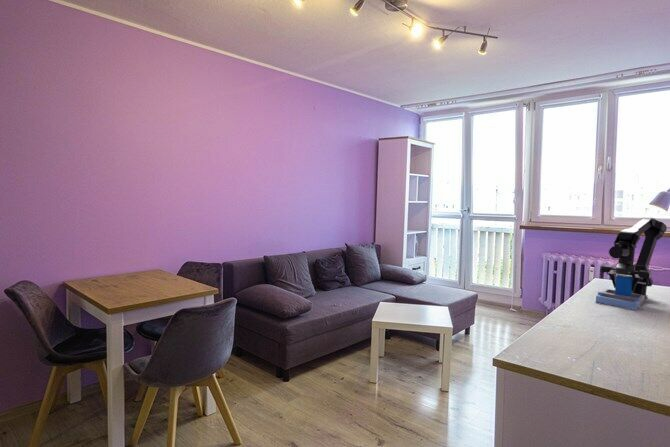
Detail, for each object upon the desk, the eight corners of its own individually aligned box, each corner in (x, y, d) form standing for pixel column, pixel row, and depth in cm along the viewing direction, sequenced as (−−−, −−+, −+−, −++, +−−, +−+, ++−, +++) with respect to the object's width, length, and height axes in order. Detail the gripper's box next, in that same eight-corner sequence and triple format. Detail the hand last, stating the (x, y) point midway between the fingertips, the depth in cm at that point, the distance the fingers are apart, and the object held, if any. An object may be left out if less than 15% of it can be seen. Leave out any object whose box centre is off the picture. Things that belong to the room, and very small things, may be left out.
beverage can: (625, 298, 188) (627, 273, 187) (634, 302, 181) (636, 276, 180) (611, 297, 188) (613, 273, 187) (619, 301, 182) (622, 276, 181)
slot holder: (605, 294, 194) (606, 286, 193) (644, 301, 183) (645, 293, 182) (595, 302, 179) (595, 293, 179) (636, 310, 168) (637, 301, 168)
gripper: (599, 256, 184) (596, 288, 186) (648, 262, 171) (645, 296, 172) (604, 253, 192) (601, 284, 193) (652, 259, 178) (649, 292, 180)
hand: (623, 289), depth 184 cm, fingers closed on beverage can, 6 cm apart
